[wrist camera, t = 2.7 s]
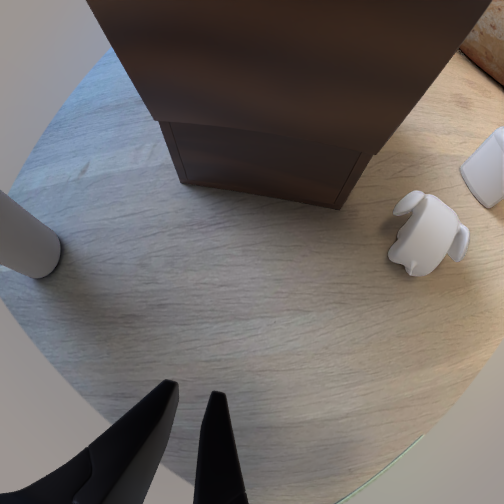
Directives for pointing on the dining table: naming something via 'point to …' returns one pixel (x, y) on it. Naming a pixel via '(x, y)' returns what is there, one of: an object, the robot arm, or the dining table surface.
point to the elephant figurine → (427, 234)
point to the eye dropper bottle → (487, 170)
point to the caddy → (263, 163)
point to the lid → (287, 61)
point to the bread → (488, 41)
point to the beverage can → (26, 241)
